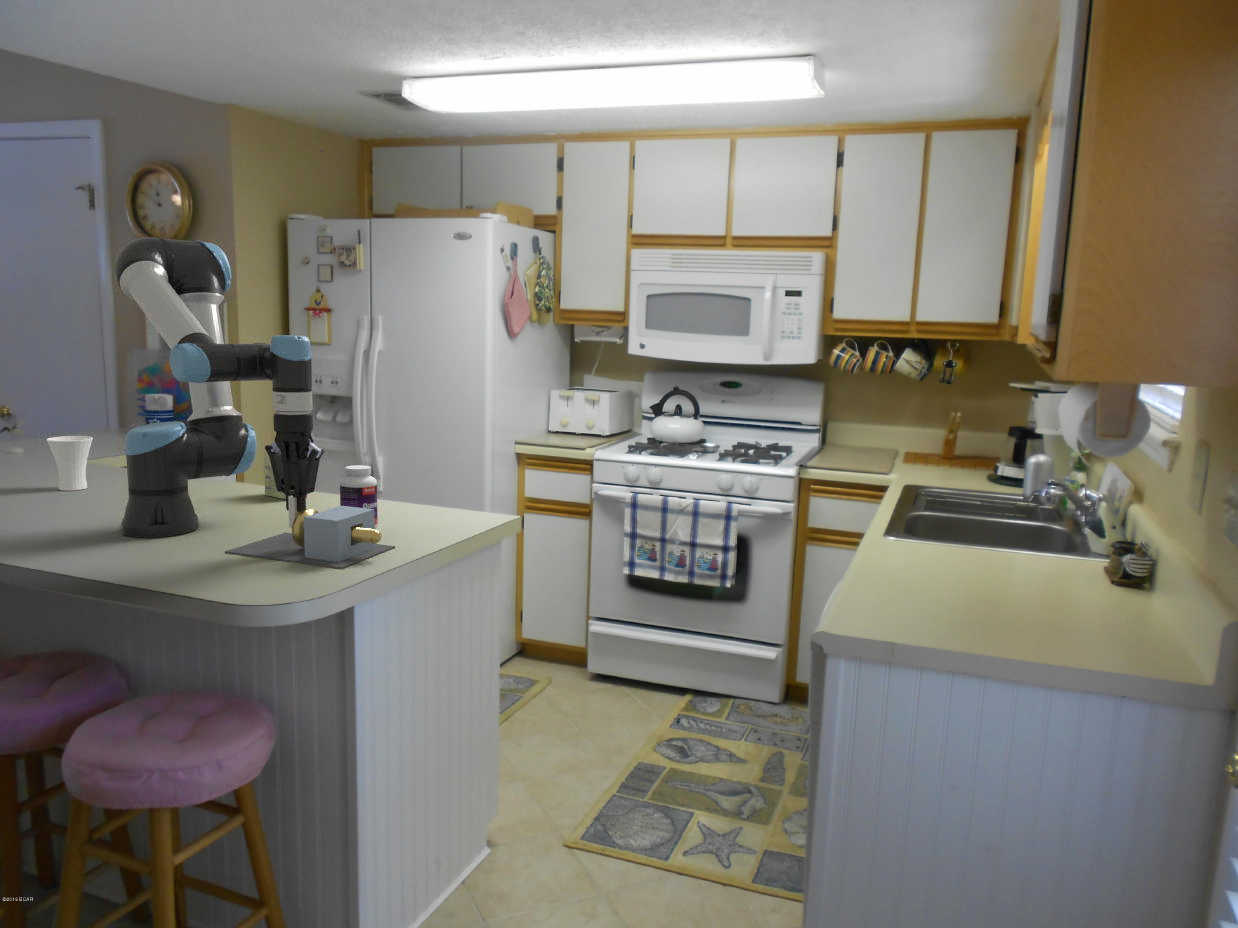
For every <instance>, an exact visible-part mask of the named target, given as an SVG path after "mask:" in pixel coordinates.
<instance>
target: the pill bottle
mask: <svg viewBox="0 0 1238 928" xmlns="http://www.w3.org/2000/svg"><path fill="white" fill-rule="evenodd" d="M344 469H345V475H346V476H344V477H343V478H341V479H340V481H339V497H340V498H339V503H340V504H339V506H349V507H358V508H367V509H374V529H375V530H377V528H378V526H379V525H378V481H377V479H376V478H375V477H373V476H371V475H372V474H371V473H372V467H371V465H365V464H363V465H361V464H360V465H359V464H357V465H349V466H345V468H344Z"/></svg>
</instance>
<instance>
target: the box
mask: <svg viewBox="0 0 1238 928" xmlns="http://www.w3.org/2000/svg"><path fill="white" fill-rule="evenodd" d="M263 464H264V465H263V467H264V468H263V470H264V496H269V497H273V498H278V499H282V500H286V495H285V494H284V493H283V492H278V491H277V488H276V484H275V479H274V475H273V471H272V466H271V462H270V458H269V455H268V453H267V452H266V451H264V452H263ZM306 464H307V462H306ZM307 498H308V494H307V495H306V499H307Z"/></svg>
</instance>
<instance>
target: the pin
mask: <svg viewBox="0 0 1238 928" xmlns="http://www.w3.org/2000/svg"><path fill="white" fill-rule="evenodd" d="M319 512H320V511H317V510H315V509H309V508H306V509H304V510H302V511H300V512H299V513H298V514H297V516H296V517H295V519H294V522H293V526H292V528H291V533H292V537H293V540H294V542H295V543H296V544H297V545H298V546H300V547H305V545H304V517H305V516H308V515H312V514H315V513H319ZM381 540H382V533H381V531H379V530H378V529H375V530H374V529H366V528H358V527H351V541H357V542H365V543H373V544H379V542H381Z"/></svg>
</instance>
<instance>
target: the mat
mask: <svg viewBox="0 0 1238 928" xmlns="http://www.w3.org/2000/svg"><path fill="white" fill-rule="evenodd" d="M393 549H396V546H395V545H389V544H388V545H387V544H381V543H380V544H379V543H376V544H375V548H373V549H371V550H368V551H366V552H363V553H361V554H358V555H355V556H353V557H350V558H348V559H345V560H342V561H340V562H336V561H328V560H321V559H314V558H306V557H305V547H300V546H298V545H297V544H296V543H295V542H294V540H293V537H292V532H283V533H279V534H276V535H273V536H269V537H266V538H263V539H261V540H257V541H253V542H250V543H247V544H244V545H240V546H237V547H235V548H231V549H227V550H225V551H224V553H226V554H230V555H231V554H232V555H240V556H245V557H253V558H260V559H269V560H274V561H282V562H287V563H288V562H290V563H294V564H295V563H297V564H305V565H310V566H316V567H317V566H318V567H326V568H332V569H339V570H343V569H345V568H348V567H350V566H353V565H356V564H358V563H361V562H364V561H366V560H368V559H371V558H373V557H376V556H378V555H380V554H383V553H385V552H388V551H390V550H393Z"/></svg>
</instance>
